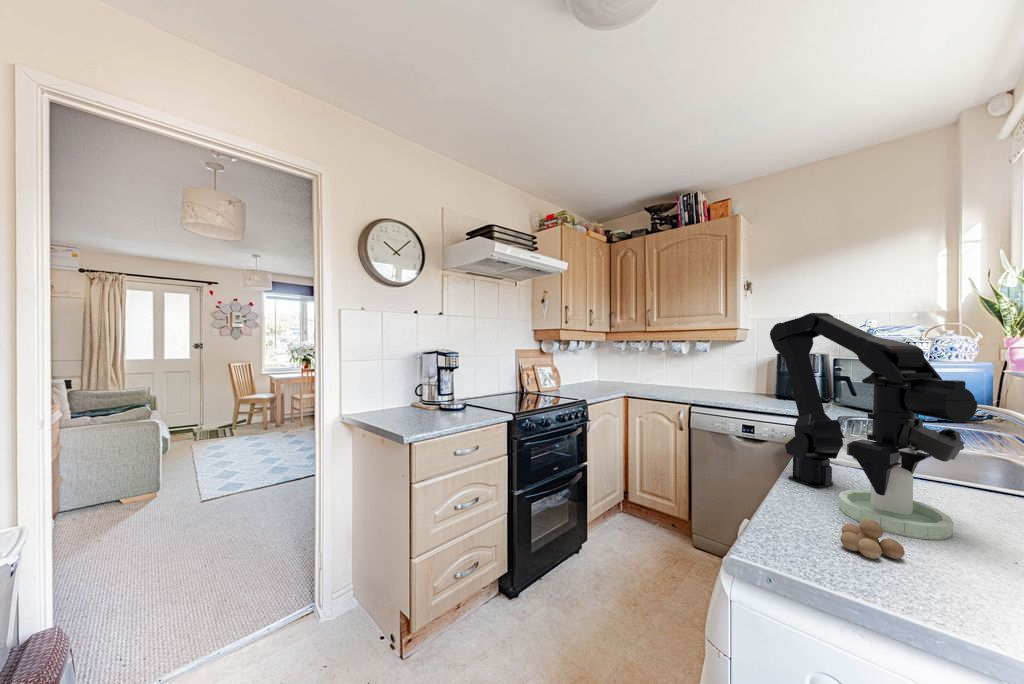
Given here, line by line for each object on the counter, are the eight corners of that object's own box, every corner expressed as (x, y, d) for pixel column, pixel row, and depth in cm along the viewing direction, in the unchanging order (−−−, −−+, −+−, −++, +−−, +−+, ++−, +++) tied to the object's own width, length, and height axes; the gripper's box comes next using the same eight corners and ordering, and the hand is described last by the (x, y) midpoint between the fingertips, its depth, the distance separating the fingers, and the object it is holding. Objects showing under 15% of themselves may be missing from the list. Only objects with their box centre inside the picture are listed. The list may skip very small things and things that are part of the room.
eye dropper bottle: (880, 501, 75) (881, 442, 75) (917, 514, 70) (919, 450, 69) (865, 504, 74) (867, 444, 73) (902, 518, 68) (904, 452, 68)
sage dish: (822, 508, 75) (823, 497, 75) (863, 496, 81) (864, 485, 81) (927, 547, 62) (928, 533, 62) (968, 529, 68) (968, 516, 68)
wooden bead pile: (825, 542, 63) (826, 513, 63) (847, 535, 66) (847, 507, 65) (887, 569, 56) (888, 537, 56) (908, 560, 58) (909, 528, 58)
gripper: (930, 423, 60) (927, 520, 60) (980, 414, 67) (977, 500, 68) (846, 410, 70) (844, 493, 71) (897, 404, 78) (895, 478, 78)
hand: (891, 491), depth 72 cm, fingers closed on eye dropper bottle, 7 cm apart
